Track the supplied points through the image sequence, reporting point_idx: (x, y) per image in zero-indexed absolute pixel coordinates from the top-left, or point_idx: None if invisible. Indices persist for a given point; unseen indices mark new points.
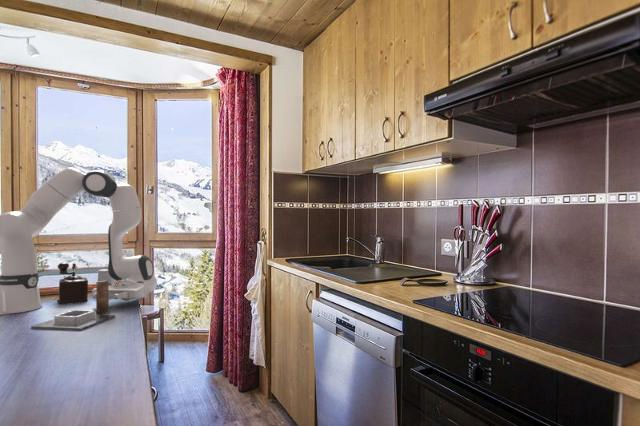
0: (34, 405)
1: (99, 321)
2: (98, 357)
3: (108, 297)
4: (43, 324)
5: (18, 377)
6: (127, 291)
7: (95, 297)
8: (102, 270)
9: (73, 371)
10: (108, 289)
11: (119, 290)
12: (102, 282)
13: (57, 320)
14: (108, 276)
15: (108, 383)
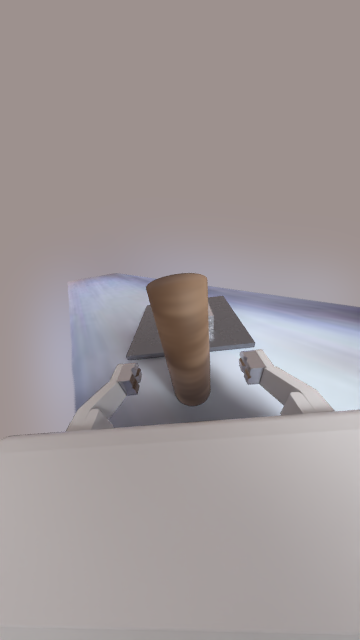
0: (111, 275)
1: (139, 325)
2: (99, 291)
3: (167, 361)
4: (215, 301)
5: (133, 277)
6: (70, 432)
7: (240, 361)
8: None
9: (108, 283)
10: (159, 332)
11: (136, 426)
12: (160, 278)
13: None
14: None
15: (86, 284)
